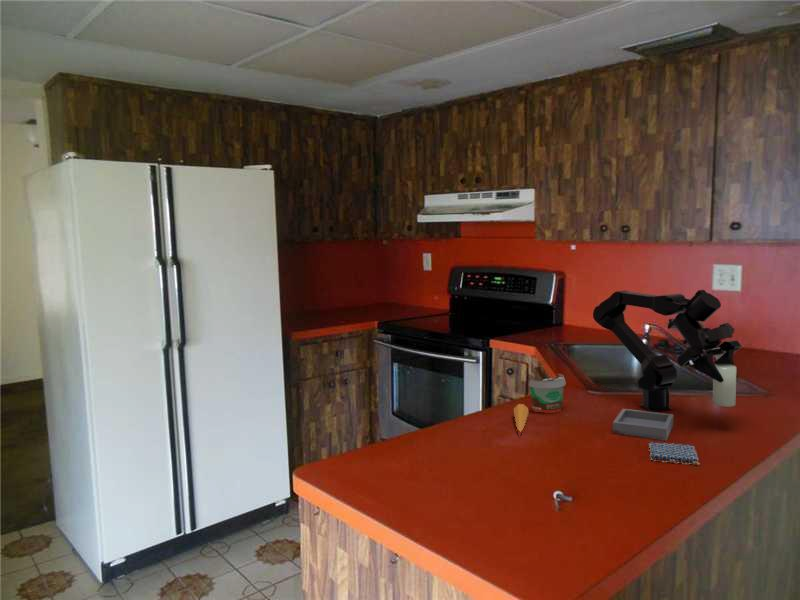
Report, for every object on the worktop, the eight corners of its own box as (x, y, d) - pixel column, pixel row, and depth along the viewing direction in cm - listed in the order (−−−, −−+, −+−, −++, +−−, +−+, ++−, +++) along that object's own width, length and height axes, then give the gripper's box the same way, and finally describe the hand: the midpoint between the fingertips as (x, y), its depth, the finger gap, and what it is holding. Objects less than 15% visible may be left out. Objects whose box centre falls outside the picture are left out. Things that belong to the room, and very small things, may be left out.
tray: (612, 433, 155) (612, 422, 154) (622, 418, 166) (622, 408, 165) (666, 440, 148) (666, 429, 148) (673, 425, 159) (673, 414, 159)
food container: (542, 417, 170) (542, 383, 169) (529, 412, 175) (528, 379, 174) (575, 410, 175) (574, 377, 174) (560, 405, 181) (560, 373, 180)
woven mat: (694, 451, 142) (694, 443, 142) (700, 468, 132) (700, 459, 132) (647, 447, 146) (647, 439, 145) (649, 463, 136) (650, 455, 135)
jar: (719, 406, 151) (720, 369, 150) (708, 401, 156) (709, 364, 155) (739, 406, 151) (740, 368, 150) (727, 400, 157) (729, 363, 155)
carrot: (517, 418, 173) (511, 404, 173) (531, 413, 172) (525, 399, 171) (514, 449, 154) (507, 434, 154) (531, 444, 153) (524, 429, 152)
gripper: (687, 317, 151) (726, 367, 142) (735, 310, 159) (775, 357, 150) (661, 342, 159) (696, 391, 150) (708, 334, 167) (744, 381, 158)
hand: (729, 380), depth 152 cm, fingers closed on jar, 5 cm apart
